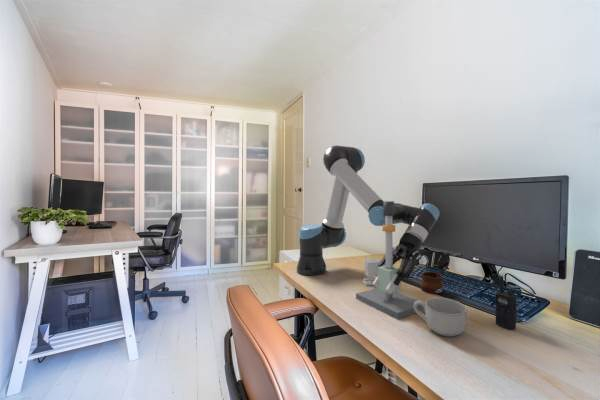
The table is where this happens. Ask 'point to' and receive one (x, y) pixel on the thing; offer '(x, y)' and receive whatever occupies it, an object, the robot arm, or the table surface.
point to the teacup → (443, 315)
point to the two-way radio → (505, 307)
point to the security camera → (371, 270)
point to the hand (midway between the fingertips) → (381, 288)
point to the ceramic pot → (431, 282)
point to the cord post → (379, 299)
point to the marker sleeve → (387, 278)
